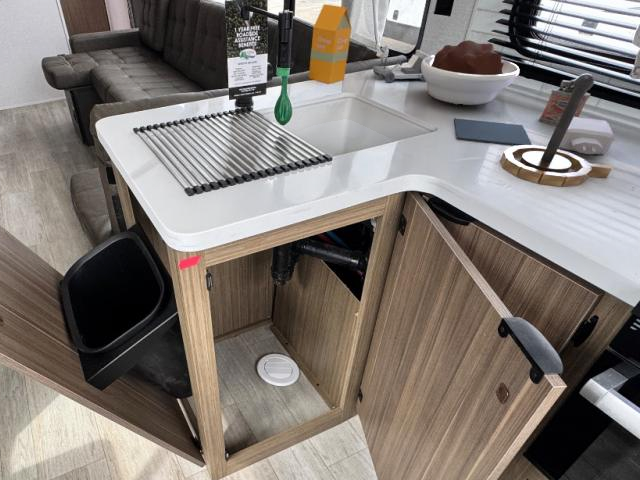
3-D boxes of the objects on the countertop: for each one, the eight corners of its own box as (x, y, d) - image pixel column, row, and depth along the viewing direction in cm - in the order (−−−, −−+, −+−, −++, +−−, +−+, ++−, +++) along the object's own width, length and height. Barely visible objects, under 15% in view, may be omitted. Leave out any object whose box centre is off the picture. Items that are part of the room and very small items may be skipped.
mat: (521, 126, 109) (522, 124, 108) (531, 147, 99) (532, 145, 98) (453, 120, 112) (454, 118, 112) (456, 139, 102) (457, 137, 102)
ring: (594, 161, 93) (599, 152, 92) (617, 193, 82) (623, 183, 80) (496, 150, 97) (500, 141, 96) (506, 179, 86) (510, 170, 85)
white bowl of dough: (456, 84, 137) (473, 29, 127) (526, 107, 120) (551, 45, 110) (394, 94, 129) (407, 36, 119) (459, 120, 112) (481, 54, 102)
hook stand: (561, 163, 92) (608, 70, 80) (571, 181, 86) (625, 82, 74) (515, 157, 94) (554, 66, 82) (521, 175, 88) (565, 78, 76)
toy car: (383, 48, 132) (370, 40, 140) (376, 83, 138) (364, 73, 147) (439, 47, 133) (423, 39, 142) (430, 81, 140) (415, 72, 148)
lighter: (538, 121, 112) (556, 79, 105) (539, 118, 114) (558, 76, 107) (574, 128, 108) (595, 84, 101) (575, 124, 110) (596, 81, 104)
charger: (558, 158, 94) (554, 135, 104) (608, 166, 91) (599, 142, 101) (569, 136, 91) (563, 115, 101) (622, 144, 88) (610, 121, 98)
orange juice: (323, 74, 146) (331, 3, 133) (344, 79, 141) (355, 6, 128) (308, 78, 142) (315, 5, 129) (329, 84, 137) (338, 8, 124)
